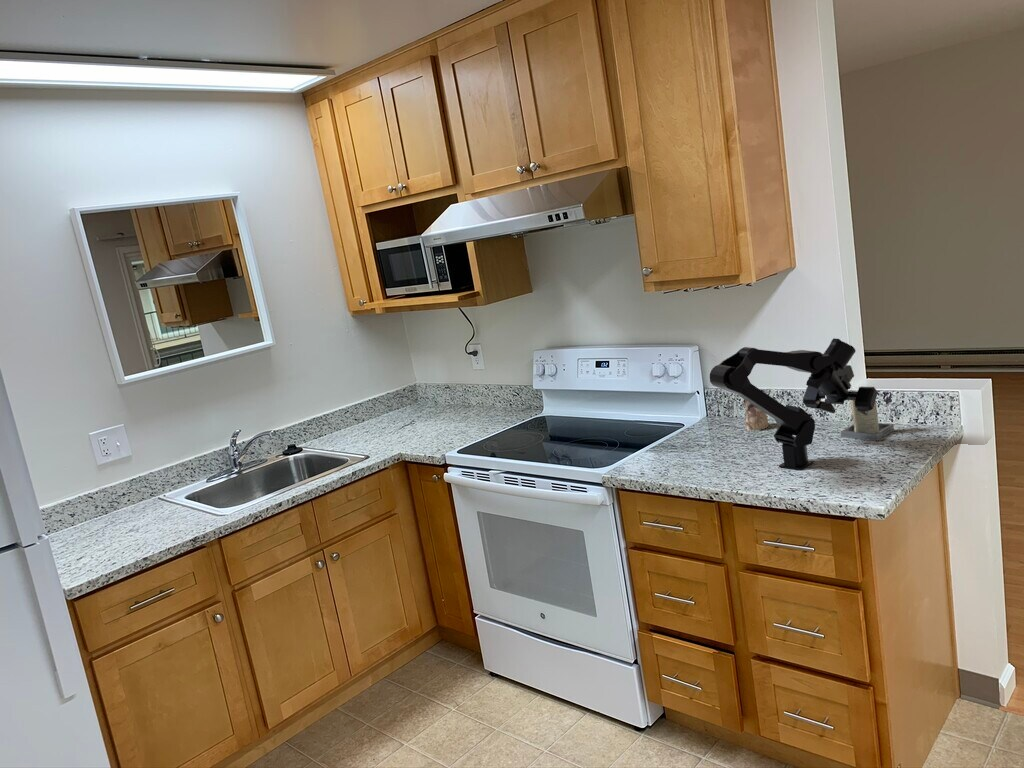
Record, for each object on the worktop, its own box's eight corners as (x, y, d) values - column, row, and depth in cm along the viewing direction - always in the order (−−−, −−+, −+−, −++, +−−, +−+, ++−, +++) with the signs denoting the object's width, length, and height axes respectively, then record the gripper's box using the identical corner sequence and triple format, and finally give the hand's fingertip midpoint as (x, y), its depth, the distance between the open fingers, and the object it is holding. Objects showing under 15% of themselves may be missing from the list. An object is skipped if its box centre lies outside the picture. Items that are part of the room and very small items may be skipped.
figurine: (744, 426, 246) (739, 390, 244) (767, 423, 245) (762, 387, 243) (746, 432, 240) (742, 395, 237) (770, 429, 238) (765, 392, 236)
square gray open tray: (877, 440, 210) (876, 434, 210) (840, 437, 218) (840, 431, 218) (894, 430, 217) (893, 424, 216) (858, 427, 225) (857, 421, 224)
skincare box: (877, 429, 218) (873, 388, 216) (879, 433, 214) (876, 391, 212) (853, 431, 221) (849, 390, 218) (855, 435, 216) (851, 393, 214)
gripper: (872, 357, 199) (892, 389, 208) (804, 357, 213) (826, 387, 222) (861, 394, 195) (882, 424, 204) (792, 391, 209) (815, 420, 218)
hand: (850, 412), depth 212 cm, fingers open, 9 cm apart
